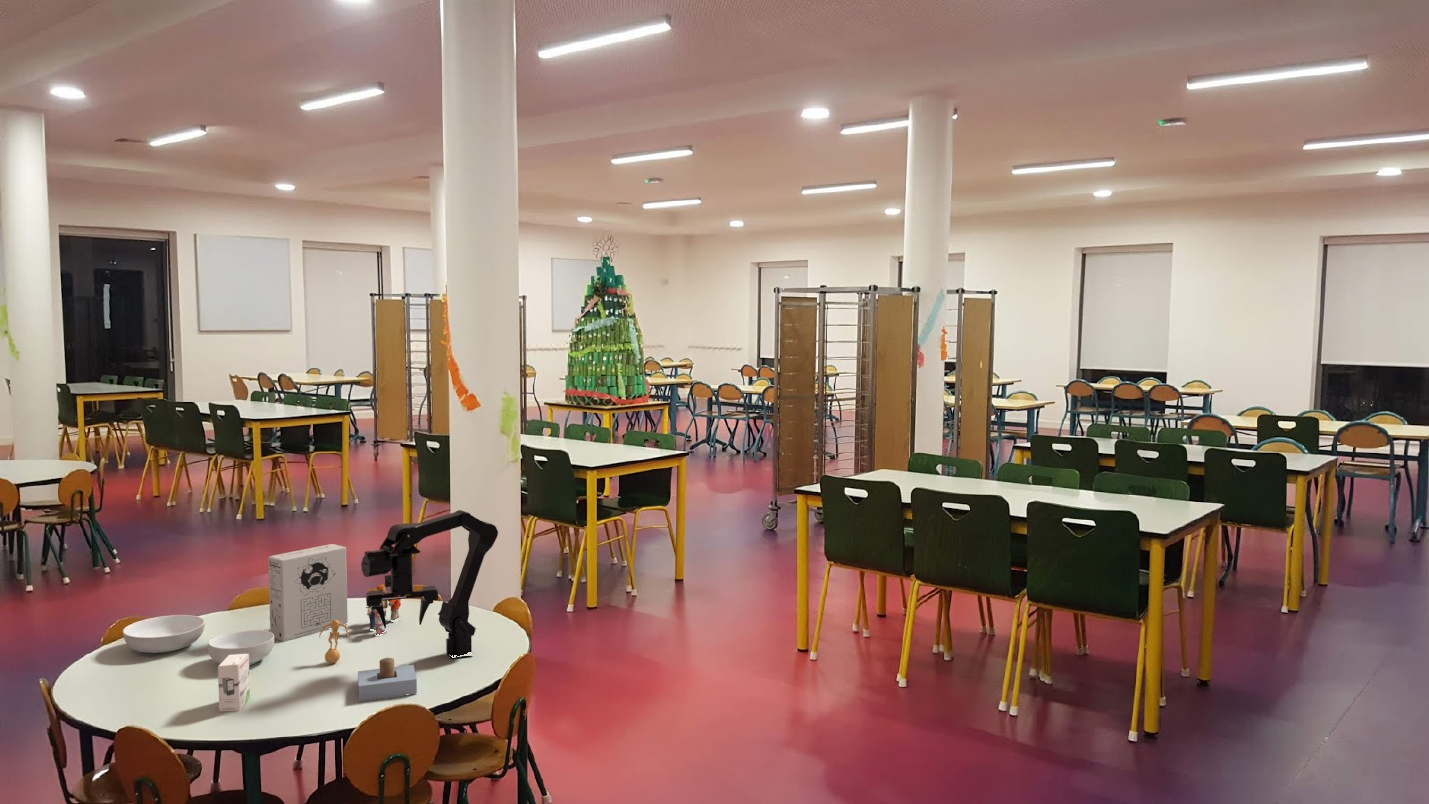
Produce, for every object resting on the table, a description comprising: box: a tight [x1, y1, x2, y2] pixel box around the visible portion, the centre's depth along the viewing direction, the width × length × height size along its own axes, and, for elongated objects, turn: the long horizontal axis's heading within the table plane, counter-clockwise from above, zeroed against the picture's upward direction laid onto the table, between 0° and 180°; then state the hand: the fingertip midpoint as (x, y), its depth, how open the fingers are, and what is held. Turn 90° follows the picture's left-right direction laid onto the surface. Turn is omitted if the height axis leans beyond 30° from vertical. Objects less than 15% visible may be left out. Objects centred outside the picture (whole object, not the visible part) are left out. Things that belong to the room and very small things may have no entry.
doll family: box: [365, 583, 402, 635], centre depth 299 cm, size 21×10×13 cm, turn 179°
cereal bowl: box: [207, 629, 275, 667], centre depth 267 cm, size 17×17×7 cm
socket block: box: [357, 664, 418, 702], centre depth 249 cm, size 14×11×4 cm
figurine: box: [318, 619, 350, 664], centre depth 269 cm, size 8×6×12 cm
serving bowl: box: [122, 614, 206, 654], centre depth 279 cm, size 21×21×7 cm
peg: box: [379, 657, 395, 679], centre depth 248 cm, size 4×4×8 cm
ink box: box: [217, 654, 251, 712], centre depth 238 cm, size 9×5×12 cm, turn 10°
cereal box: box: [267, 543, 349, 642], centre depth 295 cm, size 22×8×25 cm, turn 144°
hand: (402, 626), depth 264 cm, fingers open, 9 cm apart
